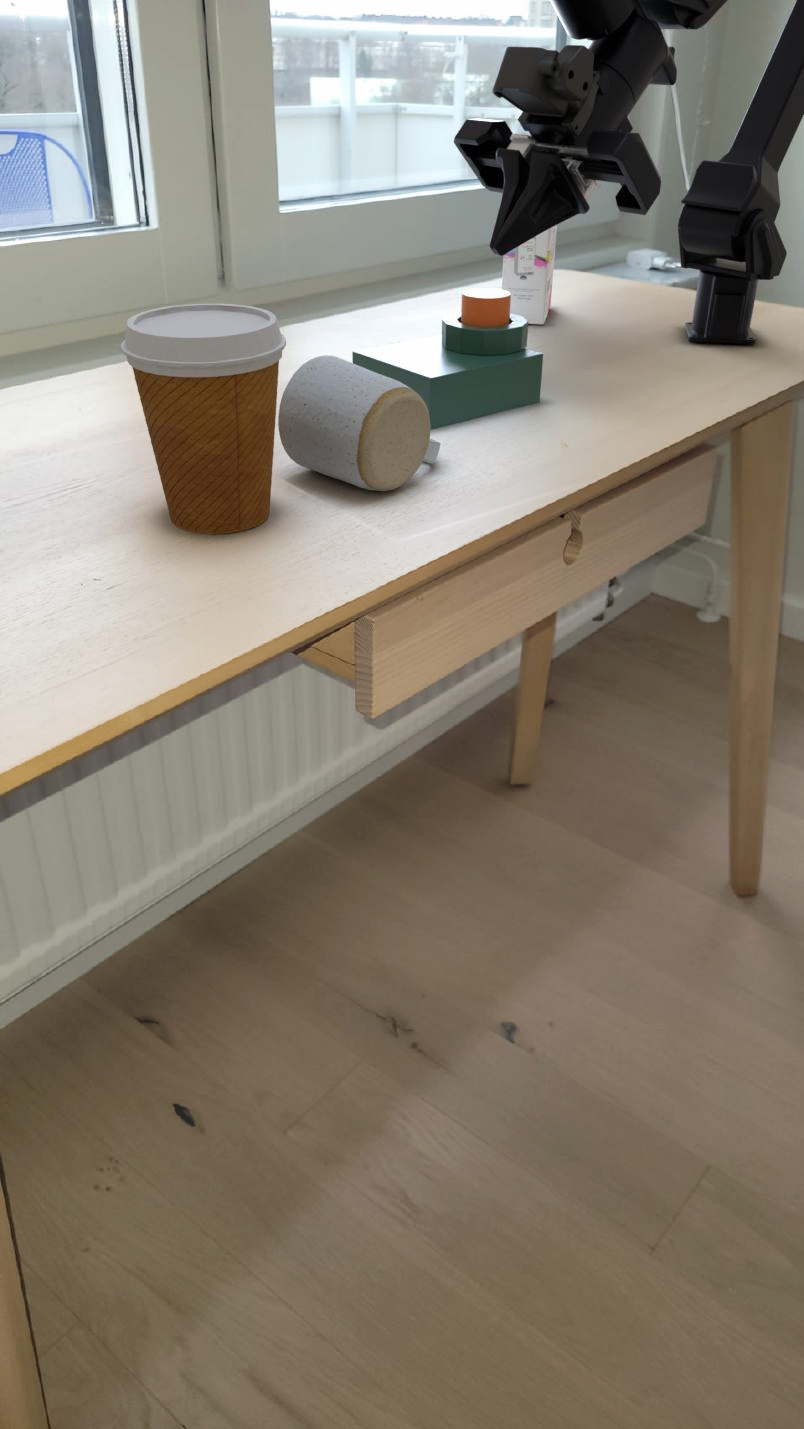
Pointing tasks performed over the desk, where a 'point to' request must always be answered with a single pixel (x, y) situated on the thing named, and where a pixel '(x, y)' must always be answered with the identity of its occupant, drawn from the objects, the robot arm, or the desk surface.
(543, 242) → the ink cartridge box
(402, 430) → the ceramic mug
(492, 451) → the desk surface
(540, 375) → the green button base
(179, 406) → the disposable coffee cup
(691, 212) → the robot arm
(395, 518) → the desk surface
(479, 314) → the orange squat cylinder
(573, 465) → the desk surface
